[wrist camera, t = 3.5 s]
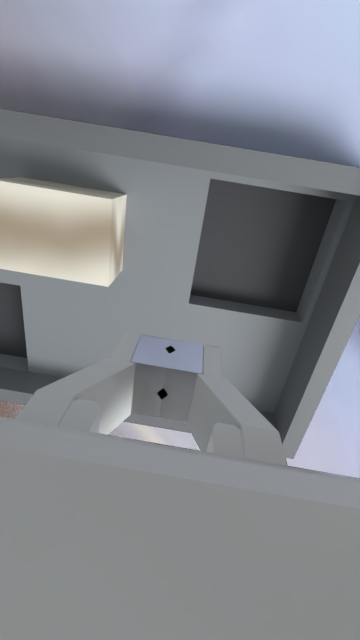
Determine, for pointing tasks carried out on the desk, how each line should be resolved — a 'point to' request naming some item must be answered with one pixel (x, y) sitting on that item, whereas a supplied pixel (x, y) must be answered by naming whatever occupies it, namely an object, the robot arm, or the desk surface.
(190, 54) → the desk surface
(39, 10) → the desk surface
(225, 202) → the tray
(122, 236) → the block
